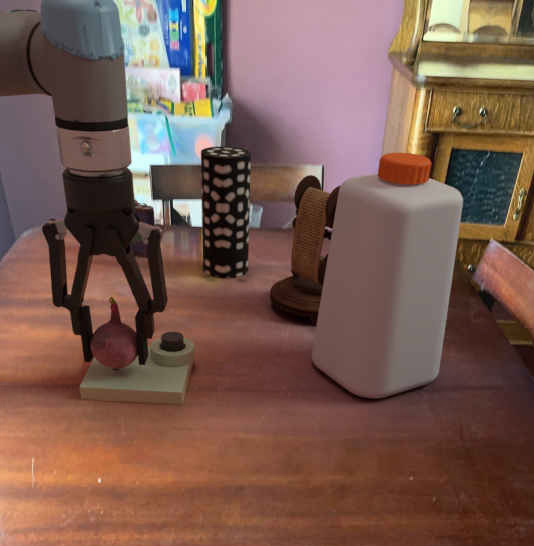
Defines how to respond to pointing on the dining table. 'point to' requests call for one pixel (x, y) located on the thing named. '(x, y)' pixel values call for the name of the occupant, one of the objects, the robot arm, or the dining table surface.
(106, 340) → the vegetable
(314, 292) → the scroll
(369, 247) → the plastic bottle
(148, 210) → the flask
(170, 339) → the button
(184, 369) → the scale
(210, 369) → the dining table surface
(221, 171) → the white-spotted black cylinder
